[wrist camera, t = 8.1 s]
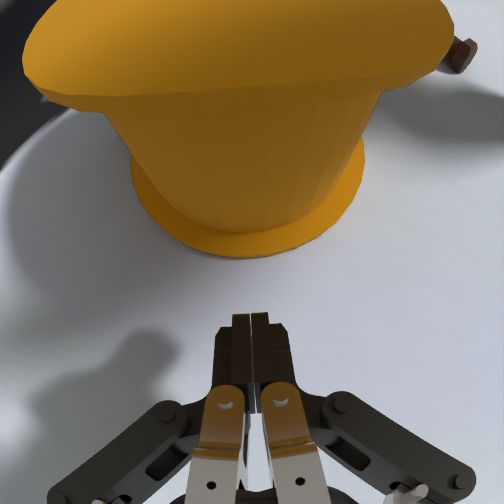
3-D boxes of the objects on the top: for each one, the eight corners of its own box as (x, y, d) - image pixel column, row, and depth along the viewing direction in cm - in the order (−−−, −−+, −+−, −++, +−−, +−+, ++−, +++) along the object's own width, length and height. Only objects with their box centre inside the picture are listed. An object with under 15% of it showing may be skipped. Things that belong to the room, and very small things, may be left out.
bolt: (373, 18, 29) (460, 77, 26) (360, 9, 26) (457, 73, 23) (389, -10, 25) (479, 49, 21) (377, -21, 22) (479, 41, 18)
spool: (392, 129, 22) (467, -7, 7) (279, 313, 18) (349, 273, 4) (226, 49, 25) (210, -78, 10) (94, 177, 21) (-18, 56, 7)
